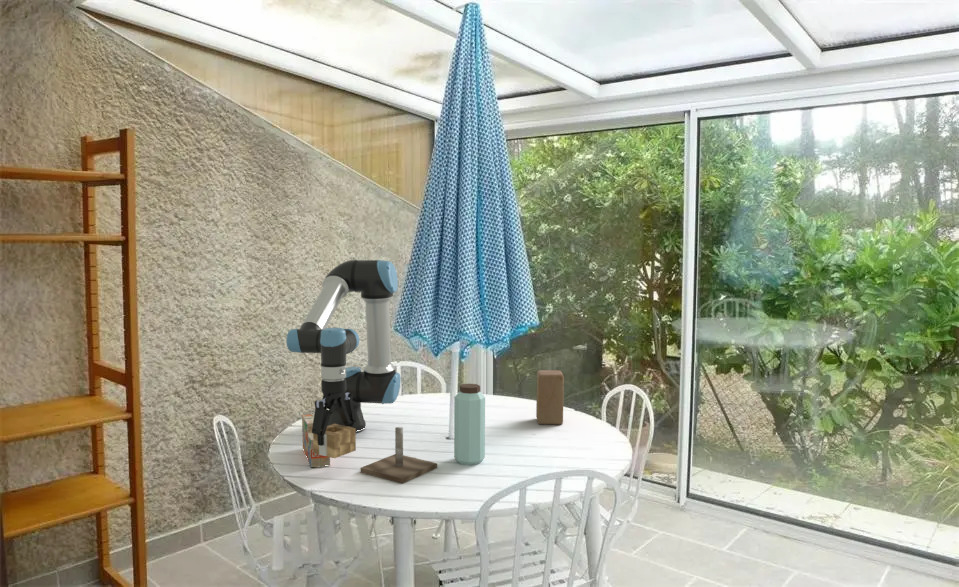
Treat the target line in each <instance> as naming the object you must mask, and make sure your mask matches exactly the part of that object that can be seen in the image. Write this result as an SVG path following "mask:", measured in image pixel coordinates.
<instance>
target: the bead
mask: <svg viewBox="0 0 959 587" xmlns="http://www.w3.org/2000/svg"><path fill="white" fill-rule="evenodd" d="M321 431H322V430H321ZM325 434H327V457H330V459H337V458H339V457H342V456H345V455H347V454H351V453H353V452H356V451H357V448H356V446H357V442H356V438H357V437H356V435H357V433H356V428H352V427H347V426H343V425H338V424H332V425H329V426H327V428H326V431H325ZM313 450H314V453H316V454H319V445H318V436H317V434H313Z"/></svg>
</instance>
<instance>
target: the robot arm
mask: <svg viewBox="0 0 959 587" xmlns="http://www.w3.org/2000/svg"><path fill="white" fill-rule="evenodd" d="M398 279H399V278H398V272H397V269H396V267H395V264H394V263H393V262H391V261H390V260H381V259H369V260H368V259H365V260H364V259H352V260H346V261H344V262H341V263H340V264H338V265H337V266H335V267H334V268H333V269H332V270H330V271H329V272H328V273H327V274H326V276H325V277H324V279H323V281H322V283H321V285H322V288H321V290H320V292H319V294H318V296H317V297H316V300H315V301H314V303H313V305H312V306H311V308H310V310H309V312H308V314H307V315H306V317H305V319H304V320H303V323H302V324H301V325H300V327H299V328H297V327H296V328H292V329H290V330H288V332H287V334H286V340H285V341H286V346H287V349H288V351H290V352H291V353H301V354H320V361H321V362H320V378H321V383H320V384H321V385H320V388H321V392H322V398H321V399H320V400H315V401H314V407H315V408H314V413H313V414H314V420H313V427H312V433H313V434H317V436H318V445H319V455H322V456H327V434H325V431H326V428H327V426H329V425H332V424H338V425H343V426H347V427H352V428H356V431H357V430H361V429H363V428H365V426H366V420H365V419H364V415H363V412H362V407H361V406H362V405H361V404H382V405H384V404H390V405H391V404H394V403H395V402H396V400H397V398H398V397H399V394H400V393H399V392H400V390H401V381H402V379H401V374H400V372H397V371H396V367H395V365H393V363H392V356H391V355H392V354H391V353H392V352H391V351H392V350H391V325H390V324H391V321H390V318H391V317H390V301H391V300H392V299H393V297H394V293H397V291H398V284H399V280H398ZM352 292H355V293H360V298H361V299H362V300H363V301H364V303H365V319H366V323H365V324H366V346H367V352H366V353H367V365H366V366H364V368H363V371H362V369H361V367H359V366H351V367H348V366H347V355H348V354H350V353H353V352H354V351H355V350H356V349H357V348H358V347H359V344H360V336H359V334H358V333H357V331H356V330H354V329H352V328H342V327H328V326H329V323H330V321H331V320H332V318H333V316H334V314H335V312H336V311H337V308H338V307H339V305H340V303H341V301H342V299H343V298H345V297H346V296H347V295H348V293H352ZM365 429H366V428H365ZM321 430H322V431H321Z"/></svg>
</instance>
